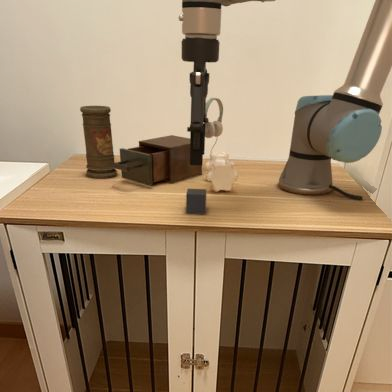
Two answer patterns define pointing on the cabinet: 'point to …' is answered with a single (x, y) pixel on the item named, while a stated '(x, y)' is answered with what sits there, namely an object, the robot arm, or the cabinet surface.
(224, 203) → the cabinet surface
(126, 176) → the drawer
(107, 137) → the container
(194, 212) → the block
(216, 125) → the headphones
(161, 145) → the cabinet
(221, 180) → the white rounded figure
